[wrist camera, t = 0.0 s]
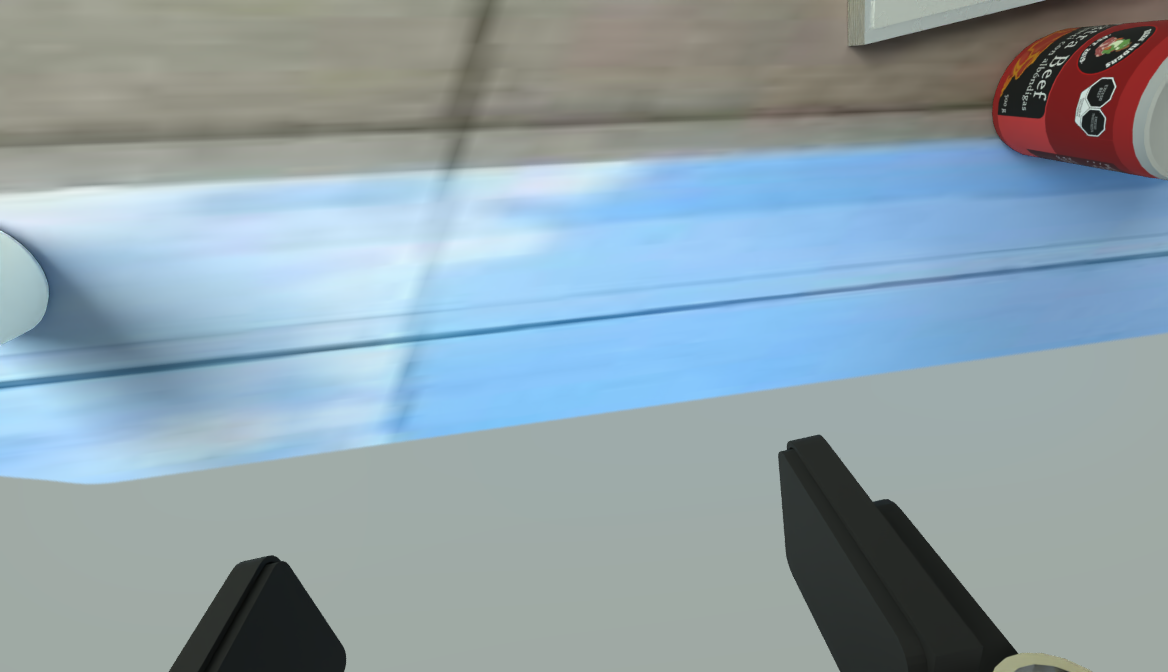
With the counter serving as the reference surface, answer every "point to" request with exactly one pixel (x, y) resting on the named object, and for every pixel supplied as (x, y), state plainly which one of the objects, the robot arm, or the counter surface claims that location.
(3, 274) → the alcohol
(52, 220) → the counter surface
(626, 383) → the counter surface
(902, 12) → the panel
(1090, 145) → the canned food
